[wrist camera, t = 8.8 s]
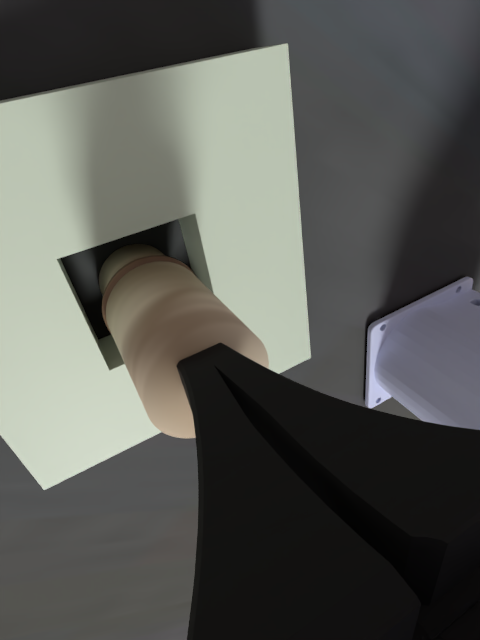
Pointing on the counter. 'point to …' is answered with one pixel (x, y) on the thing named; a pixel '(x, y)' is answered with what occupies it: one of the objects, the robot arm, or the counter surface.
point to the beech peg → (166, 328)
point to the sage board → (134, 216)
